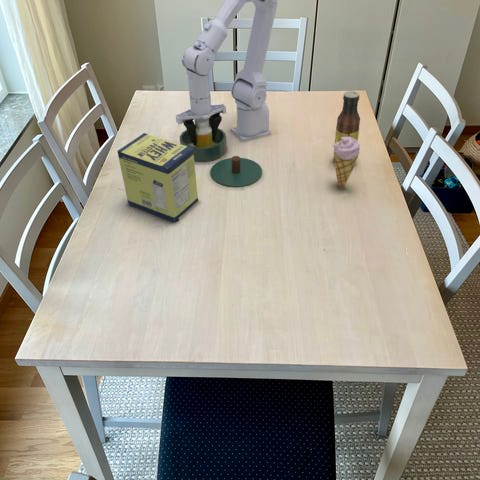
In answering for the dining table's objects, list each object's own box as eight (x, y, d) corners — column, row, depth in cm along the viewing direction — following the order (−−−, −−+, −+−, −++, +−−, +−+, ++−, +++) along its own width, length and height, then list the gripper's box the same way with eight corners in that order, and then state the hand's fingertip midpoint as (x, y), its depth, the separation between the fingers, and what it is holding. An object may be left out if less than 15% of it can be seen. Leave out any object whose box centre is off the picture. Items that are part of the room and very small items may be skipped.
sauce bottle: (353, 157, 144) (365, 89, 130) (355, 168, 140) (367, 99, 126) (331, 156, 145) (340, 88, 130) (331, 167, 140) (341, 98, 126)
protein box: (151, 185, 135) (143, 131, 124) (199, 202, 129) (194, 147, 118) (126, 204, 129) (115, 150, 118) (175, 223, 123) (168, 168, 112)
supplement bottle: (212, 155, 145) (210, 124, 138) (194, 155, 145) (191, 124, 138) (213, 146, 149) (211, 115, 142) (195, 146, 149) (193, 115, 142)
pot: (214, 136, 153) (214, 121, 150) (234, 156, 145) (234, 141, 142) (174, 146, 149) (172, 131, 146) (191, 168, 141) (190, 153, 137)
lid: (247, 156, 145) (247, 140, 141) (271, 180, 136) (272, 164, 132) (202, 168, 141) (201, 152, 137) (224, 194, 132) (223, 177, 128)
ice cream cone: (324, 189, 133) (330, 137, 122) (332, 178, 137) (339, 127, 126) (348, 196, 131) (357, 143, 120) (355, 184, 134) (365, 132, 124)
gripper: (180, 106, 130) (185, 153, 140) (230, 95, 135) (231, 141, 144) (171, 96, 135) (176, 142, 144) (219, 85, 139) (221, 131, 149)
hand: (203, 141), depth 145 cm, fingers closed on supplement bottle, 5 cm apart
